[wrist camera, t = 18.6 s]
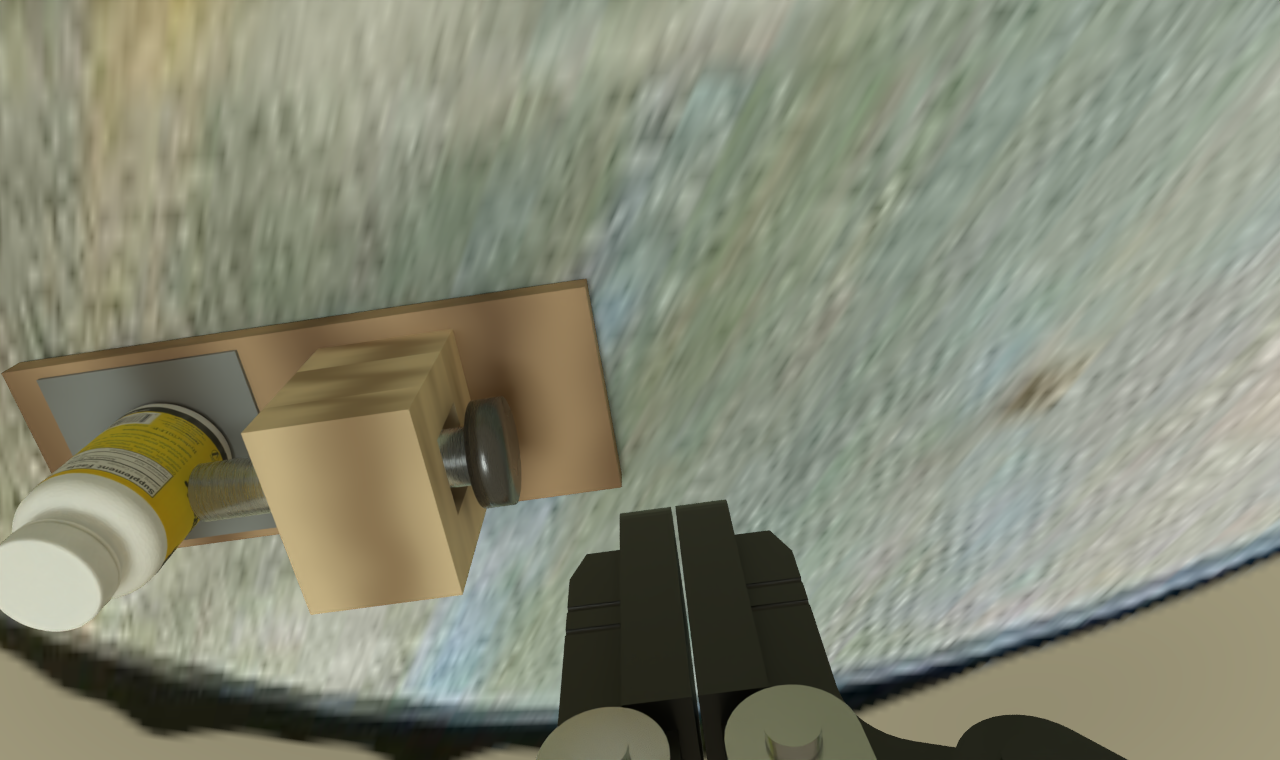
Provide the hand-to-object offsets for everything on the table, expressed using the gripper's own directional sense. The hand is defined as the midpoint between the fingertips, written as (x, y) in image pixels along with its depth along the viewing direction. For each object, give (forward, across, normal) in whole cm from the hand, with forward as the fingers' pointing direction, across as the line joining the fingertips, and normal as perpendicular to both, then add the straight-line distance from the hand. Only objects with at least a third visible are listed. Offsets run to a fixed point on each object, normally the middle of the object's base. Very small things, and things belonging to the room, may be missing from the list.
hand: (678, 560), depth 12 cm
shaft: (+22, +13, +8) cm, 27 cm away
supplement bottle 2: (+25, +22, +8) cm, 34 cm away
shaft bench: (+26, +16, +8) cm, 31 cm away
